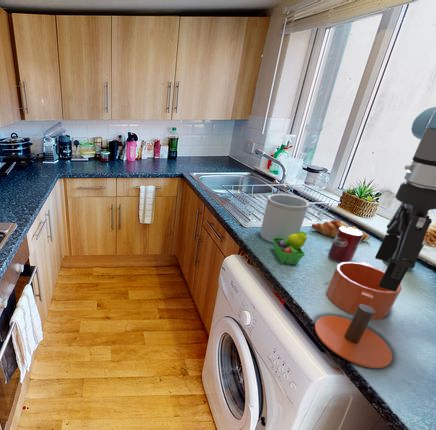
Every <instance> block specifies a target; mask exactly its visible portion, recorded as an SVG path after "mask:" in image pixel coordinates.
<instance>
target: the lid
mask: <svg viewBox="0 0 436 430" xmlns="http://www.w3.org/2000/svg"><path fill="white" fill-rule="evenodd" d="M374 313H375V310H374V309H373V308H371V307H370V306H367V305H364V304H360V305H359V306H358V309H357V311H356V313H355V315H353V317H352V318H351V319H350V318H349V319H348V318H345V317H341V316H337V315H336V316H335V315H325V316H321V317H319V318H317V319H316V321H315V323H314V327H313V328H314V332H315V334H316V336H317V338H318V339H319V340H320V342H321V343H322V344H323V345H324V346H325V347H326V348H328V349H329V350H330V351H331V352H333V353H334V354H336V355H337V356H338V357H339V358H342V359H343V360H346V361H348V362H350V363H352V364H355V365H356V366H357V365H358V366H361V367H365V368H370V369H383V368H386V367H388V366H389V365H390V364H391V362H392V361H393V354H392V350H391V348H390V347H389V345H388V344H387V342H386V341H385V340H383V338H381V336H379V335H378V334H376V333H375V332H374V331H372V330H371V329H369V328H368V327H369V324H370V322H371V320H372V319H371V318H372V317H373V315H374Z"/></svg>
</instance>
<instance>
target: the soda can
mask: <svg viewBox="0 0 436 430" xmlns="http://www.w3.org/2000/svg"><path fill="white" fill-rule="evenodd" d="M357 229H358V228H357ZM357 229H354V228H350V227H340V228H339V229H338V231H337V233H336V236H335V238H334V237H333V241H332V243H331V245H330V249H329V251H328V254H327V255H328V257H329V258H330V259H331V260H332V261H334V262H336V263H338V264H340V263H342V262H353V259H354V257H355V255H356V253H357V250H358V248H359V246H360V244H361V241H362V240H361V239H362V237H363V234H362V232H360V231H361V230H360V229H359V230H360V231H359V230H357Z"/></svg>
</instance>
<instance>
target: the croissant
mask: <svg viewBox="0 0 436 430" xmlns="http://www.w3.org/2000/svg"><path fill="white" fill-rule="evenodd" d="M340 227H350V228H354V229H357V230H359V231H360V232H362V234H363V237H362V239H361V241H369V240H370V239H371V238H372V237H371V236H370V235H368V234H367V233H366V232H365V231H364V230H360V229H358V228H357V227H356V226H355V225H348V224H347V223H346V222H345V221H343V220H336V219H335V220H334V219H333V220H331V221H325V222H323V223H320V222H317V223H312V224H311V228H312V229H314V230H315V231H317V232H318V233H320V234H322V235H324V236H327V237H331V238H333V239H334V238H335V236H336V233H337V231H338V229H339V228H340Z"/></svg>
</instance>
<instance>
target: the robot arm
mask: <svg viewBox="0 0 436 430" xmlns="http://www.w3.org/2000/svg"><path fill="white" fill-rule="evenodd" d="M410 129H411V133H412V135H413V137H415V138H416V139H418V140H420V141H419V143H418V146H417V148H416V150H415V153H414V155H413V156H412V160H411V162H410V163H411V164H405V166H404V170H406V173H405V174H404V181H403V182H401V183H400V185H399V187H398V190H397V192H396V194H395V199H396V200H397V201H399V202H400V205H399V206H398V208H397V210H396V211H395V212H394V214H393V216H392V217H391V218H390V220H389V222H388V224H387V225H386V229H387V230H386V231H385V232H386V234H385V235H384V237H383V239H382V241H381V244H380V246H379V248H378V249H377V252H376V254H375V257H374V259H376V260H379V261H382V262H383V261H386V262H390V263H389V265H387V267H386V269H385V271H384V272H385V273H384V275H383V277H382V279H381V281H380V283H379V287H381V288H385V289H388V290H391V291H394V292H396V290H397V289H398V287H399V285H400V284H401V283H402V281H403V279H404V277H405V276H406V274H407V272H408V271H407V270H408V268H411V270H412V269H414V268H415V267H416V262H417V261H418V257H419V255H420V253H421V251H420V249H421V246H422V243H423V241H425V237H426V234H427V231H428V229H429V228H430V225H431V224H432V222H433V221H432V220H433V219H432V218H430V215H429V211H431V210H436V106H432V107H429V108H427V109H425V110H423V111H421V112H420V113H419V114H418V115H416V117H415V118H414V120H413V121H412V124H411V128H410ZM397 236H399V237H400V238H399V237H397ZM395 251H396V252H395ZM419 252H420V253H419ZM394 253H395V256H394V259H392V257H393V255H394ZM405 259H406V260H405Z"/></svg>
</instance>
